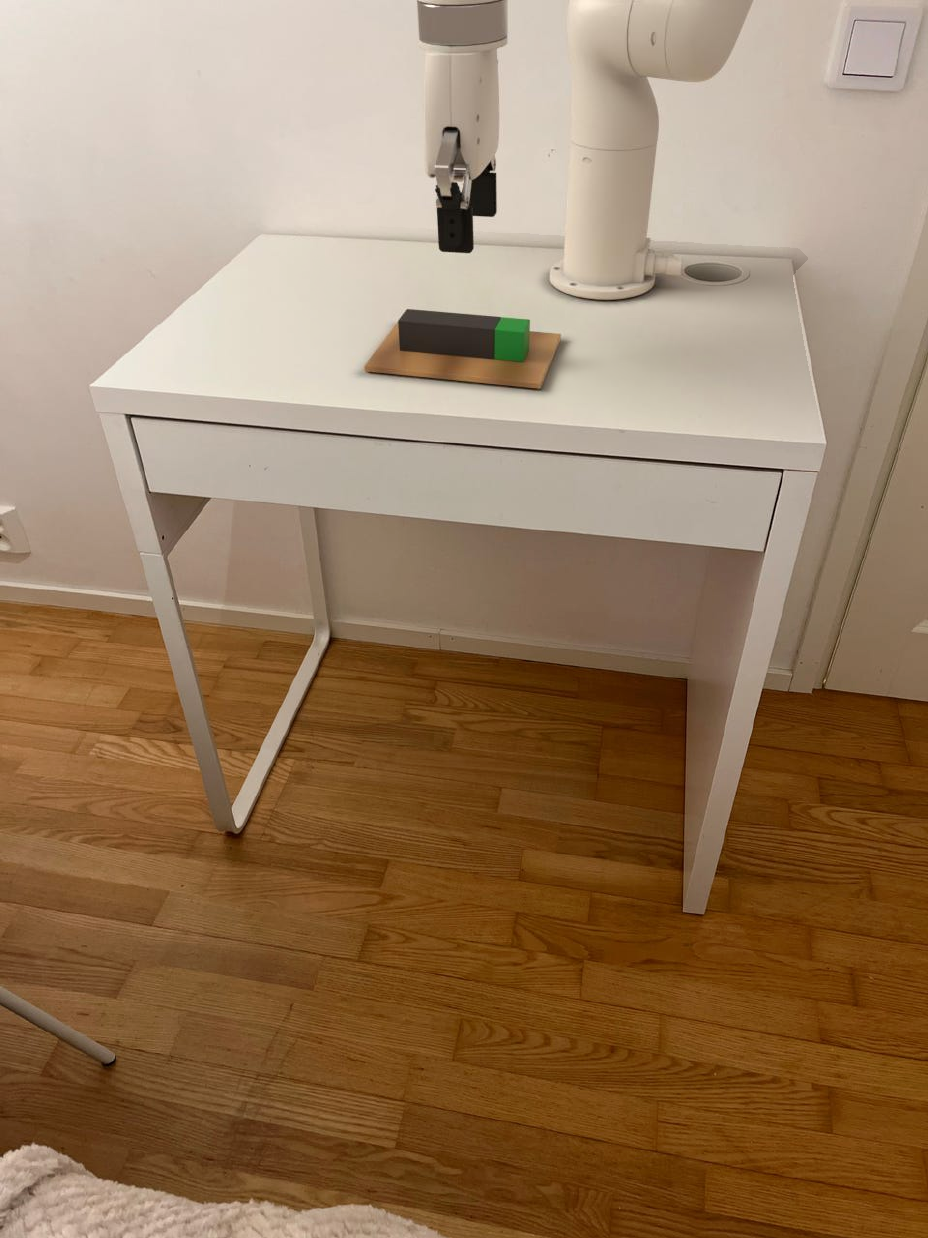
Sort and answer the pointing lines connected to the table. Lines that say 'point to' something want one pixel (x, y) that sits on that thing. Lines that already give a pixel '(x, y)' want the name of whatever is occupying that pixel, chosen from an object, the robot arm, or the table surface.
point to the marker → (464, 335)
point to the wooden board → (468, 363)
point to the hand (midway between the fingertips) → (468, 232)
